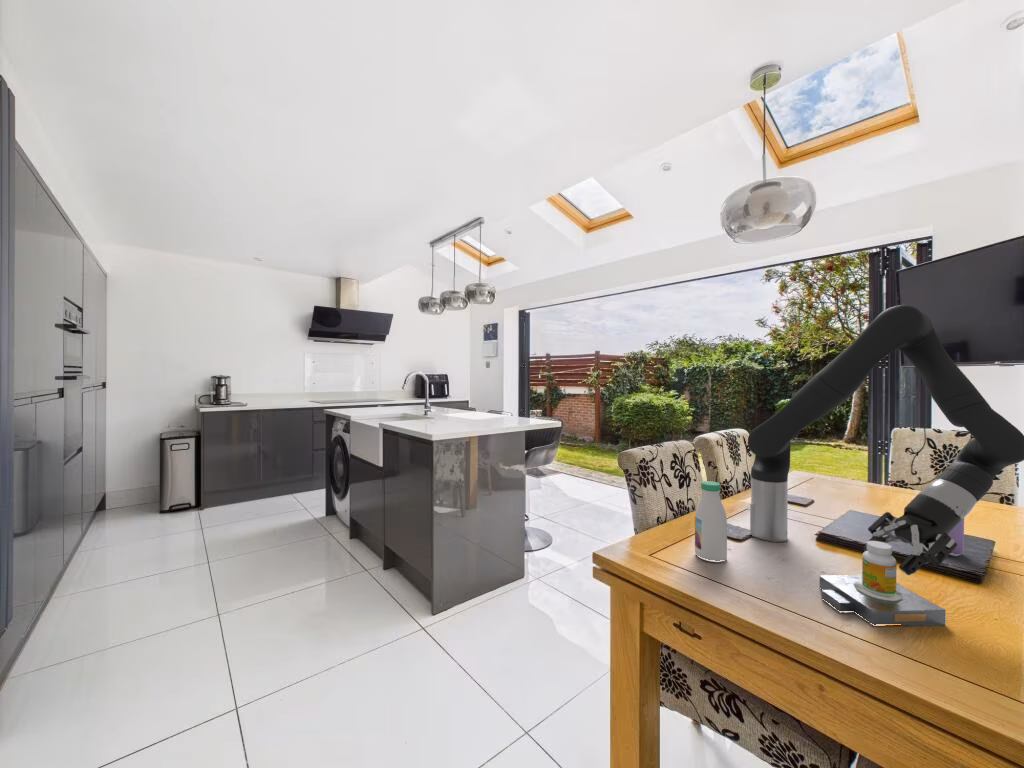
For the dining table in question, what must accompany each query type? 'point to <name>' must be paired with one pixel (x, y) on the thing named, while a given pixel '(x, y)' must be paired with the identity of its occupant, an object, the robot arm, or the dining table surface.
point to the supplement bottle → (879, 569)
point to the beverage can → (957, 537)
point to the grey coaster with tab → (880, 602)
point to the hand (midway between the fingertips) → (884, 561)
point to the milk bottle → (710, 524)
